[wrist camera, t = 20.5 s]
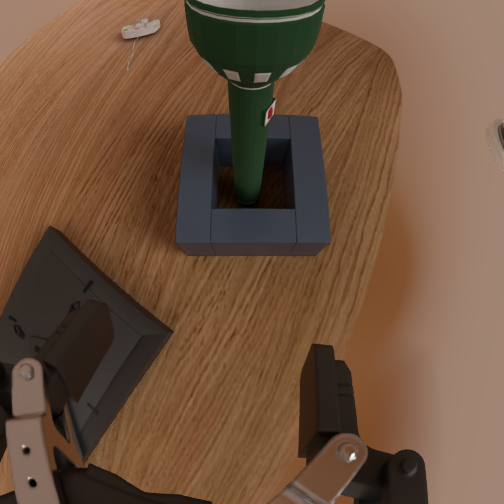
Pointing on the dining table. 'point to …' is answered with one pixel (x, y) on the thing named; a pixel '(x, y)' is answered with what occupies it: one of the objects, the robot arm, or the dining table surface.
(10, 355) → the picture frame
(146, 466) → the dining table surface
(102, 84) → the dining table surface
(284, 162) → the hollow square frame
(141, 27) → the game controller
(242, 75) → the flashlight
